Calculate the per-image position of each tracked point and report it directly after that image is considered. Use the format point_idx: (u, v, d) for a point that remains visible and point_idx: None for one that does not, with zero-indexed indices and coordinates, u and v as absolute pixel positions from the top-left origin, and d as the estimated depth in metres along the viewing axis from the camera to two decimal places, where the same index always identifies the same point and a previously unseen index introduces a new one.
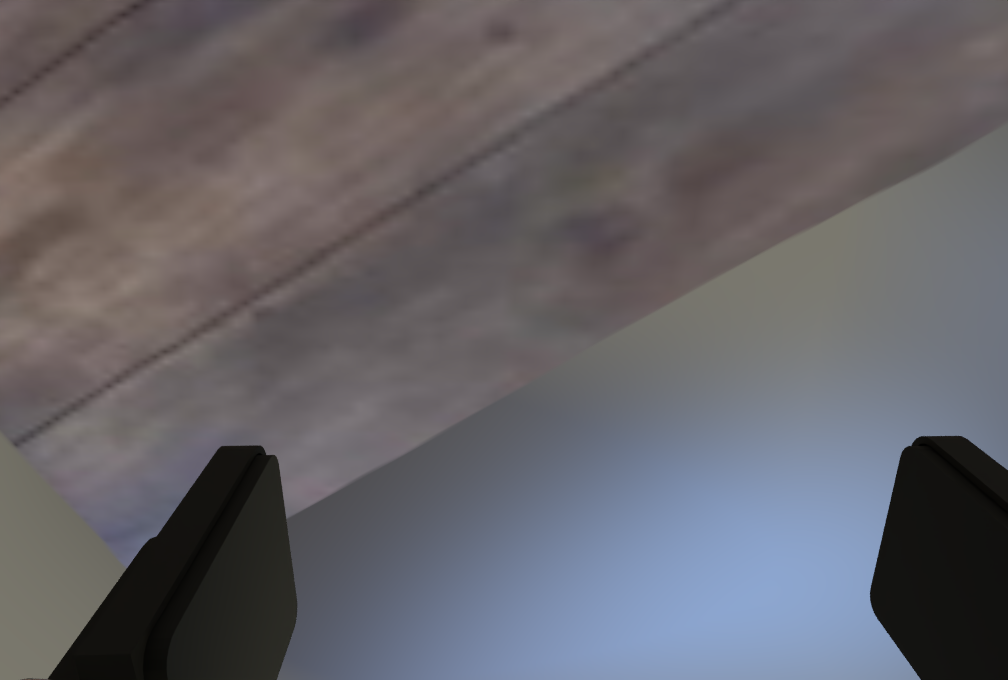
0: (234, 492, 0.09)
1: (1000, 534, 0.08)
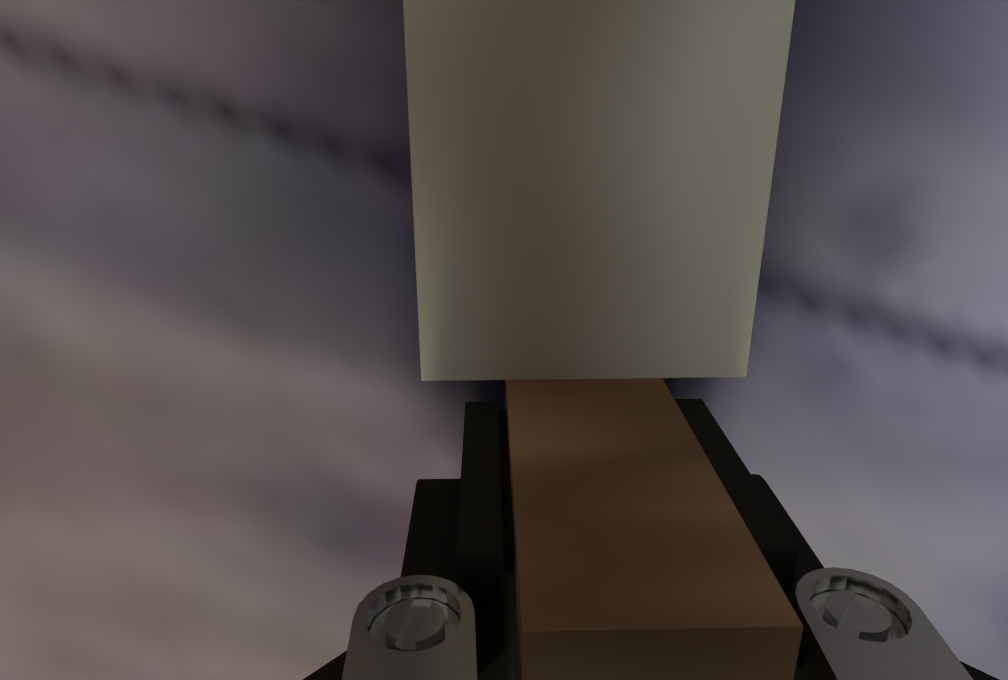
0: (501, 437, 0.10)
1: None
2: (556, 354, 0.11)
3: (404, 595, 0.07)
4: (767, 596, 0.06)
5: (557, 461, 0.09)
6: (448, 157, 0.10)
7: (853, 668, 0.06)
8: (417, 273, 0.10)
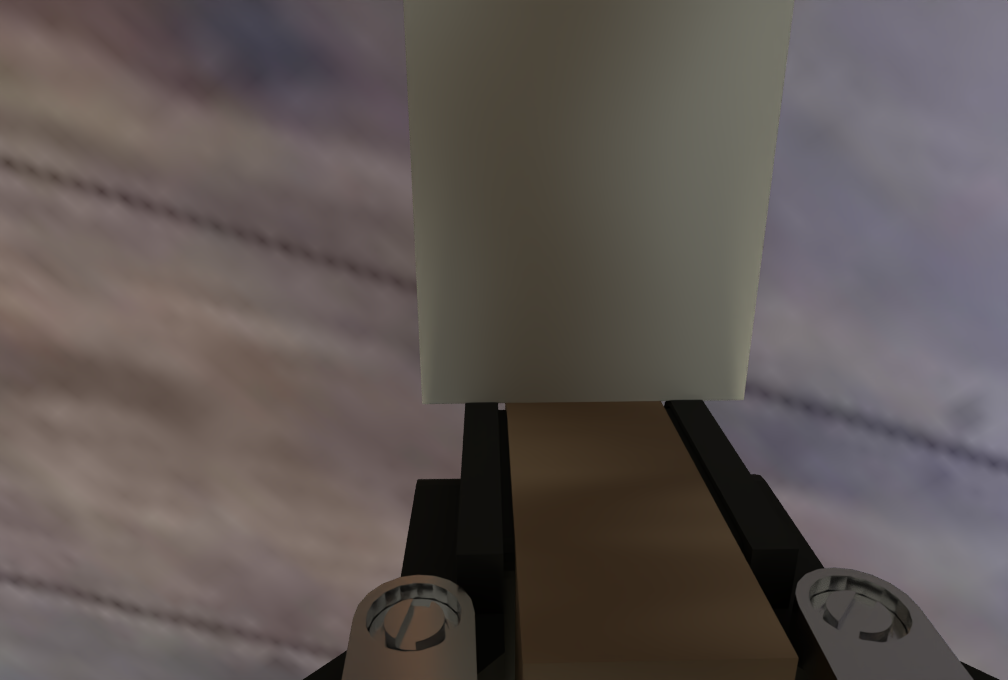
0: (501, 437, 0.10)
1: None
2: (555, 377, 0.11)
3: (404, 595, 0.07)
4: (763, 627, 0.07)
5: (556, 487, 0.09)
6: (449, 185, 0.10)
7: (853, 667, 0.06)
8: (418, 298, 0.10)
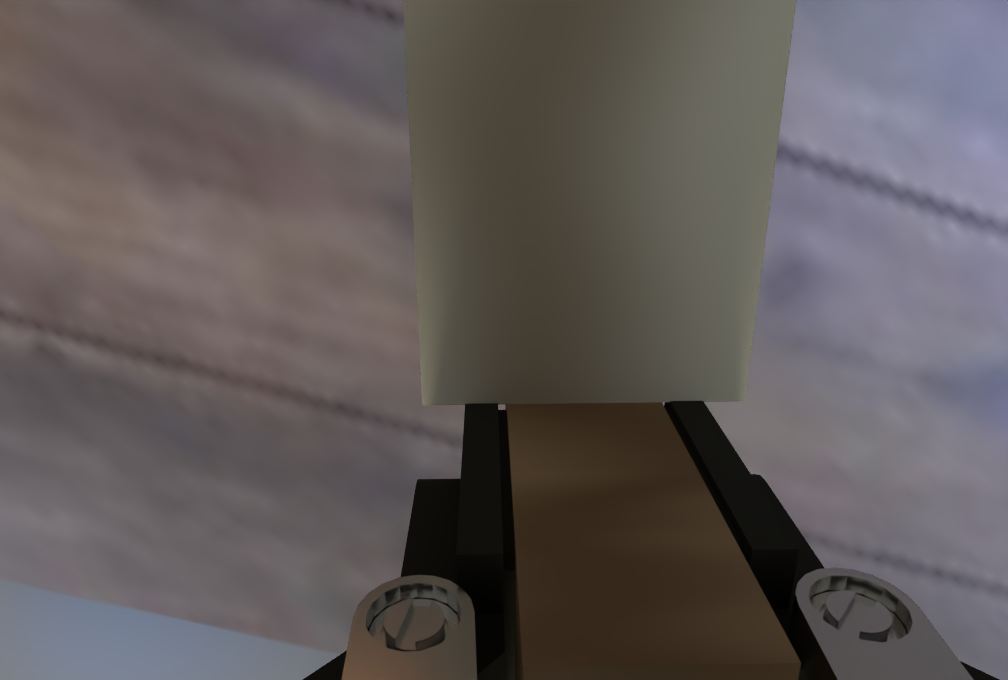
0: (501, 437, 0.10)
1: None
2: (556, 379, 0.11)
3: (404, 595, 0.07)
4: (765, 631, 0.06)
5: (557, 490, 0.09)
6: (449, 186, 0.10)
7: (853, 667, 0.06)
8: (418, 299, 0.10)
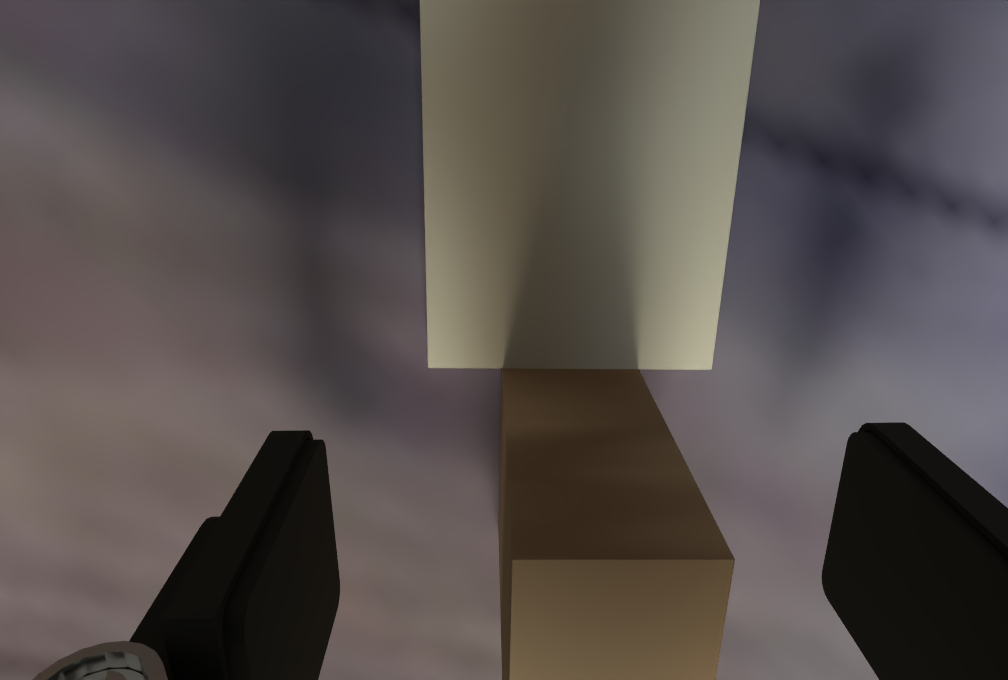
0: (290, 473, 0.09)
1: (930, 514, 0.09)
2: (546, 346, 0.12)
3: (97, 666, 0.07)
4: (709, 538, 0.08)
5: (545, 435, 0.10)
6: (456, 175, 0.11)
7: None
8: (427, 274, 0.12)
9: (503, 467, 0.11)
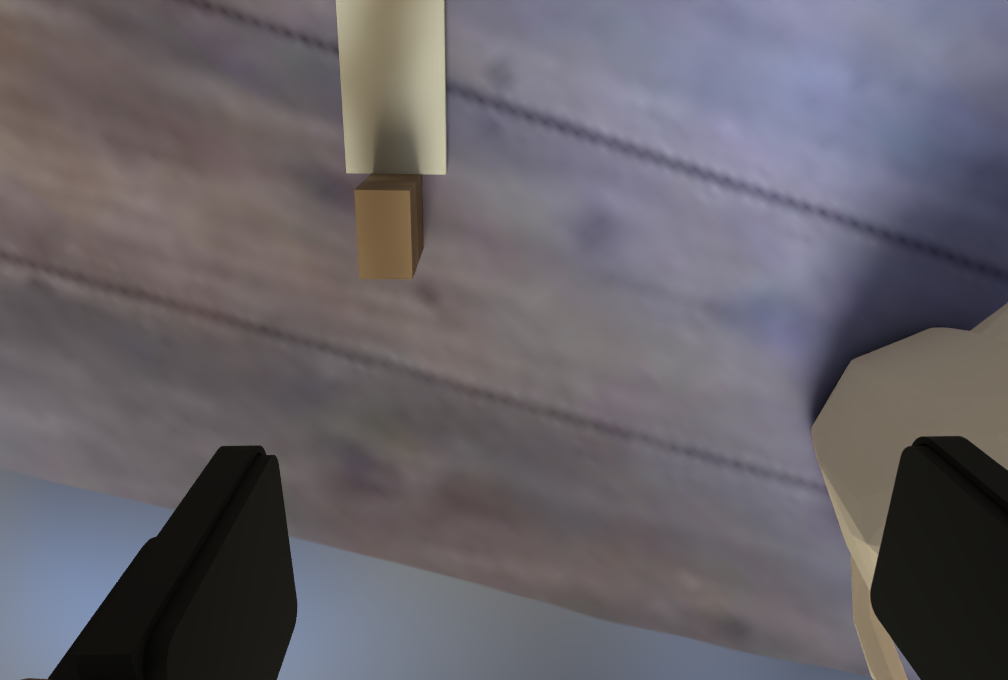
0: (234, 492, 0.09)
1: (1000, 534, 0.08)
2: (387, 165, 0.36)
3: None
4: (406, 189, 0.31)
5: (376, 180, 0.33)
6: (352, 103, 0.34)
7: None
8: (344, 138, 0.35)
9: None
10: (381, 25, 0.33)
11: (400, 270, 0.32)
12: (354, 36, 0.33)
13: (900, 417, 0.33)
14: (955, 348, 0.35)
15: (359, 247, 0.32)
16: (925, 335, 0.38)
